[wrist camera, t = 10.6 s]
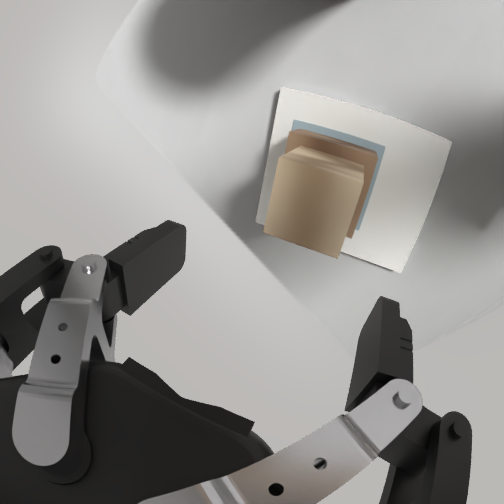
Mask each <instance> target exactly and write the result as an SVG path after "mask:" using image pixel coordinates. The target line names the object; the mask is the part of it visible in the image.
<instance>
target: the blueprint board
mask: <svg viewBox="0 0 504 504" xmlns="http://www.w3.org/2000/svg"><path fill="white" fill-rule="evenodd" d="M297 129H304V130H307V131H311V132H315V133H319V134H322V135H326V136H329V137H333V138H336V139H340V140H343V141H346V142H349V143H353V144H356V145H359V146H362V147H365V148H368V149H371V150H374V151H376V153H377V156H378V160H377V164H376V167H375V170H374V174H373V177H372V180H371V183H370V187H369V190H368V193H367V196H366V199H365V202H364V205H363V208H362V211H361V214H360V217H359V220H358V223H357V225H356V228H355V231H354V234H353V237H352V239H351V238H348V237H345V240H344V243H343V246H342V248H341V252H344V253H346V254H349V255H352V256H355V257H358V258H360V259H363V260H366V261H369V262H371V263H374V264H377V265H380V266H382V267H385V268H388V269H391V270H393V271H396V272H399V273H401V272H402V270H403V268H404V266H405V264H406V262H407V260H408V258H409V255H410V253H411V251H412V249H413V247H414V245H415V242H416V240H417V238H418V236H419V233H420V231H421V229H422V226H423V224H424V221H425V219H426V216H427V214H428V211H429V209H430V206H431V204H432V201H433V199H434V196H435V193H436V190H437V188H438V185H439V182H440V179H441V176H442V173H443V170H444V167H445V164H446V161H447V157H448V154H449V151H450V147H451V144H452V141H450V140H448V139H445V138H443V137H441V136H439V135H437V134H434V133H432V132H430V131H427V130H425V129H423V128H420V127H418V126H415V125H413V124H410V123H408V122H405V121H403V120H400V119H397V118H395V117H392V116H389V115H386V114H383V113H380V112H377V111H374V110H371V109H368V108H365V107H362V106H359V105H355V104H352V103H348V102H345V101H341V100H338V99H334V98H330V97H326V96H322V95H318V94H313V93H309V92H305V91H300V90H295V89H290V88H285V87H281V89H280V94H279V99H278V105H277V110H276V115H275V120H274V126H273V131H272V136H271V141H270V147H269V152H268V157H267V162H266V168H265V173H264V178H263V183H262V189H261V194H260V199H259V205H258V210H257V215H256V221H255V223H258V224H261V225H264V226H265V221H266V216H267V211H268V207H269V202H270V197H271V192H272V188H273V183H274V178H275V173H276V169H277V164H278V159H279V157H281V156H282V155H284V154H285V150H286V145H287V140H288V135H289V131H293V130H297Z"/></svg>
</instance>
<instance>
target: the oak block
mask: <svg viewBox="0 0 504 504" xmlns="http://www.w3.org/2000/svg"><path fill="white" fill-rule="evenodd" d="M363 184H364V165H362V164H359V163H356V162H353V161H350V160H347V159H344V158H341V157H337V156H334V155H331V154H328V153H324V152H321V151H318V150H314V149H311V148H307V147H304V146H300V147H298V148H296V149H294V150H292V151H290V152H288V153H286V154H284V155H282V156H281V157H279V159H278V164H277V169H276V173H275V178H274V183H273V188H272V192H271V197H270V202H269V207H268V211H267V216H266V221H265V226H264V230H263V233H265V234H268V235H271V236H274V237H277V238H280V239H283V240H286V241H289V242H292V243H294V244H297V245H300V246H303V247H306V248H309V249H312V250H314V251H317V252H320V253H323V254H326V255H328V256H331V257H334V258H337V259H338V256H339V254H340V251H341V248H342V246H343V243H344V240H345V237H346V235H347V232H348V229H349V226H350V223H351V220H352V217H353V214H354V212H355V209H356V206H357V203H358V199H359V196H360V193H361V190H362V187H363Z"/></svg>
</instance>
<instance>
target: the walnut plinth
mask: <svg viewBox="0 0 504 504" xmlns="http://www.w3.org/2000/svg"><path fill="white" fill-rule="evenodd" d="M300 146H304V147H307V148H311V149H314V150H318V151H321V152H324V153H328V154H331V155H334V156H337V157H341V158H344V159H347V160H350V161H353V162H356V163H359V164H362V165H364V184H363V187H362V190H361V193H360V196H359V199H358V203H357V206H356V209H355V212H354V214H353V217H352V220H351V223H350V226H349V229H348V232H347V235H346V237H348V238H351V239H352V237H353V234H354V231H355V228H356V225H357V223H358V220H359V217H360V214H361V211H362V208H363V205H364V202H365V199H366V196H367V193H368V190H369V187H370V183H371V180H372V177H373V174H374V170H375V167H376V164H377V160H378V156H377V153H376V151H374V150H371V149H368V148H365V147H362V146H359V145H356V144H353V143H349V142H346V141H343V140H340V139H336V138H333V137H329V136H326V135H322V134H319V133H315V132H311V131H307V130H304V129H297V130H293V131H289V135H288V140H287V145H286V150H285V154H286V153H288V152H290V151H292V150H294V149H296V148H298V147H300Z"/></svg>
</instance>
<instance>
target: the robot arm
mask: <svg viewBox="0 0 504 504" xmlns="http://www.w3.org/2000/svg"><path fill="white" fill-rule="evenodd" d="M185 249H186V227H185V226H184V225H182V224H179V223H176V222H173V221H170V220H167V221H165V222H164V223H162V224H160V225H159V226H157V227H156V228H151V229H147V230H144V231H142V232H141V233H139V234H137V235H136V236H135V237H134V238H131V239H130V240H128V242H125V243H123V244H122V245H120V246H119V247H117V248H116V249H114V250H113V251H111V252H110V253H108V254H107V255H105V256H104V257H102V256H99V255H94V254H91V255H85V256H83V257H80V258H78V259H77V260H76V261H75V262H74V261H69V260H65V259H63V256H62V251H61V249H60V248H59V247H57V246H45V247H42V248H40V249H38V250H36V251H35V252H34V253H32V254H31V255H29V256H28V257H26V258H25V259H23V260H22V261H20V262H19V263H18V264H16V265H15V266H14V267H12V268H11V269H9V270H8V271H7V272H5V273H4V274H3V275H1V276H0V504H316V503H318V502H319V501H321V500H322V499H324V498H325V497H327V496H328V495H330V494H331V493H332V492H334V491H335V490H337V489H338V488H339V487H341V486H342V485H344V484H345V483H346V482H348V481H349V480H350V479H351V478H353V477H354V476H355V475H357V474H358V473H359V472H360V471H361V470H363V469H364V468H365V467H366V466H367V465H369V464H370V463H371V462H372V461H373V460H374V459H375V458H377V456H379V457H381V458H382V459H384V460H385V461H387V462H389V463H390V467H389V471H388V475H387V478H386V482H385V486H384V489H383V493H382V496H381V499H380V503H379V504H466V501H467V495H468V487H469V478H470V468H471V467H470V466H471V451H472V429H471V425H470V423H469V421H468V420H467V418H466V417H465V416H464V415H463V414H461V413H459V412H455V411H454V412H449V413H447V414H446V415H444V416H443V417H442V418H441V417H440V416H438V415H436V414H435V413H433V412H431V411H430V410H428V409H427V408H425V407H424V406H423V401H422V396H421V393H420V391H419V390H418V389H417V387H416V386H415V385H414V384H413V352H412V350H413V345H412V330H411V328H410V326H409V324H408V322H407V320H406V319H404V318H401V317H400V308H399V302H396V301H394V300H391V299H388V298H385V297H382V296H380V297H379V299H378V300H377V302H376V304H375V306H374V308H373V310H372V311H371V313H370V315H369V317H368V319H367V320H366V322H365V324H364V326H363V328H362V330H361V333H360V336H359V339H358V345H357V351H356V357H355V363H354V368H353V374H352V379H351V384H350V388H349V394H348V398H347V402H346V407H345V411H348V412H349V413H348V414H346V415H340V416H338V417H336V418H335V419H333V420H332V421H330V422H329V423H327V424H326V425H324V426H322V427H321V428H319V429H317V430H316V431H314V432H312V433H311V434H309V435H308V436H306V437H304V438H302V439H301V440H299V441H297V442H295V443H294V444H292V445H290V446H288V447H286V448H284V449H283V450H281V451H279V452H277V453H275V454H274V453H273V451H272V450H271V448H270V447H269V446H268V445H267V444H266V442H265V441H264V440H263V439H262V438H260V437H259V436H258V435H257V434H256V433H254V432H253V431H251V429H252V427H253V425H254V422H253V421H251V420H248V419H246V418H244V417H241V416H239V415H236V414H234V413H232V412H230V411H228V410H225V409H223V408H221V407H217V406H213V405H209V404H204V403H200V402H196V401H192V400H189V399H185V398H182V397H181V396H179V395H178V394H177V393H176V392H175V391H174V390H173V389H172V388H170V387H169V386H168V385H167V384H166V383H165V382H164V381H163V380H162V379H161V378H160V377H159V376H158V375H157V374H156V373H154V372H153V371H151V370H149V369H147V368H146V367H144V366H142V365H141V364H139V363H137V362H136V361H134V360H133V359H131V358H130V357H129V358H128V359H127V360H126V361H125V362H124V363H123V364H121V363H116V362H115V359H114V350H115V337H116V326H117V314H116V313H117V312H119V311H120V310H122V311H123V312H125V313H127V314H128V315H132V314H133V313H134V312H135V311H136V310H137V309H138V308H139V307H140V306H141V305H142V304H143V303H145V302H146V301H147V300H148V299H149V298H150V297H151V296H152V295H153V294H154V293H156V291H158V290H159V289H160V288H161V287H162V286H163V285H164V284H165V283H166V282H168V281H169V280H170V279H171V278H172V277H173V276H174V275H175V274H177V273H178V272H179V271H180V270H181V268H182V266H183V264H184V261H185V251H186V250H185ZM39 286H40V288H41V291H42V294H43V296H44V298H43V299H42V300H40V301H39V302H38V303H37V304H36V305H34V306H33V307H32V308H31V309H30V310H29V311H28V312H26V313H25V314H23V312H22V310H21V304H22V302H23V300H24V298H26V297H27V296H28V295H29V294H31V293H32V292H33V291H34V290H36V289H37V288H38V287H39ZM33 350H34V353H33V357H32V361H31V365H30V370H29V374H26V375H20V376H14V377H13V376H12V375H11V373H12V371H13V370H14V369H15V368H16V367H17V366H18V365H19V364H20V363H21V362H22V361H23V360H24V359H25V358H26V357H27V356H28V354H30V353H31V352H32V351H33Z"/></svg>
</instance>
